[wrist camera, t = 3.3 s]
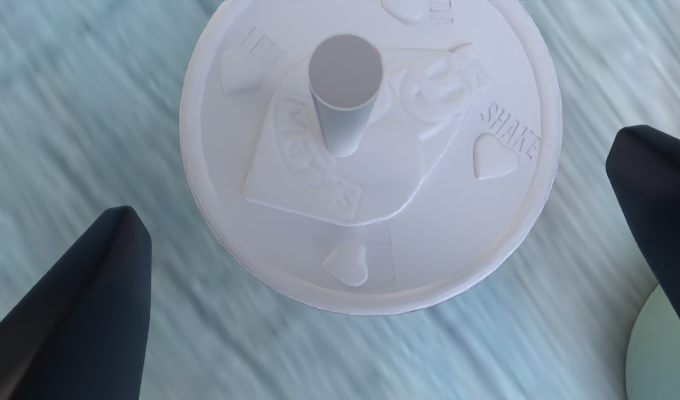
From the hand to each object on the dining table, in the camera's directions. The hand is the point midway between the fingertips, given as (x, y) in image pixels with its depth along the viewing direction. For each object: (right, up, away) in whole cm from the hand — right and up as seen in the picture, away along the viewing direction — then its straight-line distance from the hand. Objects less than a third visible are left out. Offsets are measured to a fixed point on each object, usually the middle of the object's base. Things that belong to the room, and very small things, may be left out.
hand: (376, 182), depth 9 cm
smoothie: (0, +1, +9) cm, 9 cm away
